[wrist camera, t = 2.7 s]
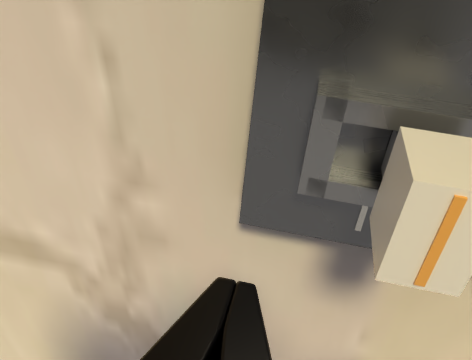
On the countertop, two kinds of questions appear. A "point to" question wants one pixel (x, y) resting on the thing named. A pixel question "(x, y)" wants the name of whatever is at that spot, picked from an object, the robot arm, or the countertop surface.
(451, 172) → the block
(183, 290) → the countertop surface
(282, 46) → the panel
